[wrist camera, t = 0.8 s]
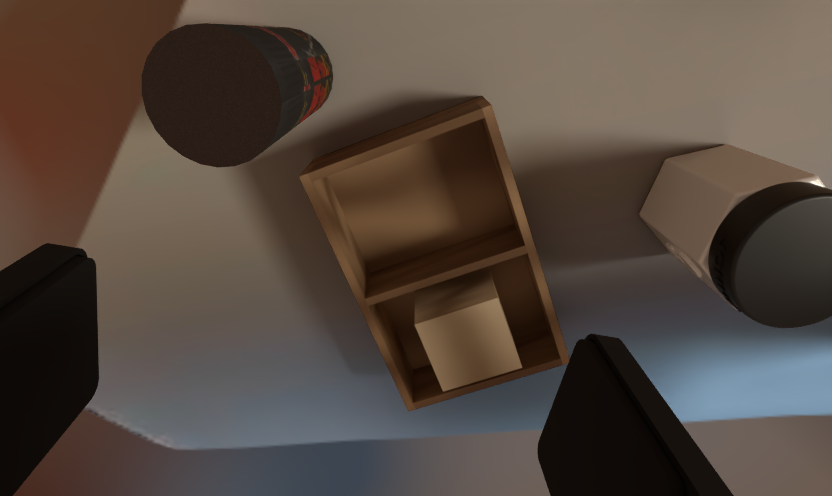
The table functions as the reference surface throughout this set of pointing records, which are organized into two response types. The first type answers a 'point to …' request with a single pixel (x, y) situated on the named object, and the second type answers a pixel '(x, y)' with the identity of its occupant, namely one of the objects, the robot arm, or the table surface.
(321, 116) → the table surface
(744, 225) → the jar
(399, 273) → the box
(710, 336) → the table surface
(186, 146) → the deodorant
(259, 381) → the table surface
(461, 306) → the beech block
